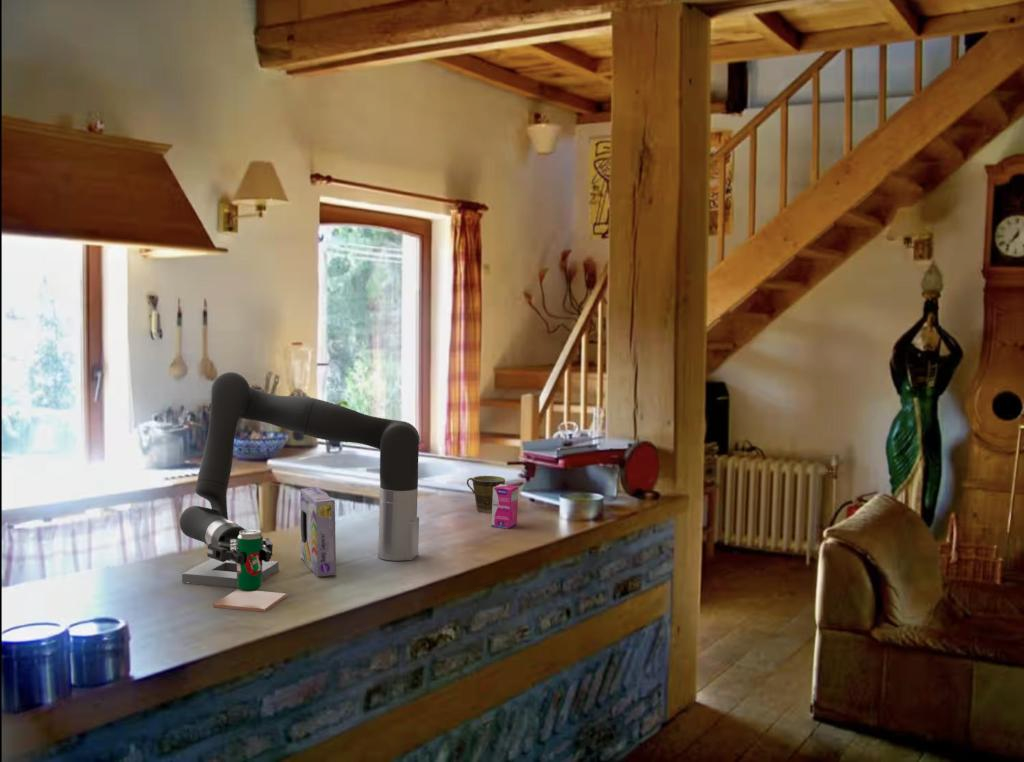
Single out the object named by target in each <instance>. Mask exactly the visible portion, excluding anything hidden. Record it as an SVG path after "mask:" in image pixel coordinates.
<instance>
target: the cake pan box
mask: <svg viewBox="0 0 1024 762" xmlns="http://www.w3.org/2000/svg"><path fill="white" fill-rule="evenodd" d="M299 498H300V500H299V504H300V506H299V507H300V532H301V533H300V535H301V536H300V537H301V539H300V540H301V541H300V555H301V556H300V558H302V559H303V560H304V561H305V562H304V561H303V560H302V559H301V560H302V561H303V562H304V563H305V564H306V565H307V567H308V566H309V567H308V568H309V569H310V570H311V572H313V574H314V575H315V576H317V577H319V578H321V577H336V575H337V562H336V561H337V556H336V551H337V550H336V549H337V547H336V545H337V543H336V500H335V499H333V498H332V497H330V496H329V494H328V493H327V492H325V491H323V490H322V489H321V488H319V487H318V486H313V487H307V488H301V489H300V497H299Z"/></svg>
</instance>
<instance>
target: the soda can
mask: <svg viewBox="0 0 1024 762" xmlns="http://www.w3.org/2000/svg"><path fill="white" fill-rule="evenodd" d="M239 533H240V534H239V535H238V537H237V551H238V552H240V553H243V554H244V565H240V564H238V563H237V589H239V590H241V591H245V592H251V591H260V589H261V588H262V587H263V580H262V559H263V540H264V536H263V534H262V531H261V530H259V529H257V528H256V529H255V528H249V529H248V528H247V529H246V528H245V530H242V531H240V532H239Z"/></svg>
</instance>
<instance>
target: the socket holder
mask: <svg viewBox="0 0 1024 762" xmlns="http://www.w3.org/2000/svg"><path fill="white" fill-rule="evenodd" d="M279 570H280V562H279V560H278V561H277V560H276V561H275V560H269V562H265V561H263V560H262V581H264V580H266V579H267V578H268V576H269V577H270V576H272V575H273V574H275V573H277V572H278V571H279ZM276 571H277V572H276ZM274 572H275V573H274ZM181 582H189V583H188V584H192V583H196V584H195V585H203V586H215V587H227V588H237V563H236V562H232V561H228V560H226V561H225V562H221V561H218V560H216V559H213V558H210V559H208V560H206V561H204V562H201V563H200V564H198V565H196V566H194V567H192V568H190V569H188V570H186V571H184V572H183V573H182V574H181ZM237 589H238V588H237Z"/></svg>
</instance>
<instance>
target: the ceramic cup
mask: <svg viewBox="0 0 1024 762" xmlns="http://www.w3.org/2000/svg"><path fill="white" fill-rule="evenodd" d="M469 481H471V482H472V485H473V488H472V486H471V485H470V484H469ZM500 484H503V485H506V479H505V478H504V477H501V476H495V475H477V476H473V477H469V478H467V480H466V485H467V487H468V488H469V489H470V490H471V491H472V493H473V494H474V497H475V499H474V500H475V505H476V506H475V507H476V511H477V512H479V513H481V514H492V502H493V487H496V486H498V485H500Z"/></svg>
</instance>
